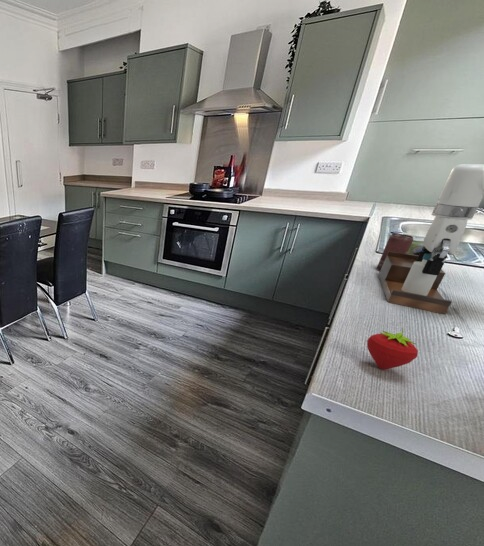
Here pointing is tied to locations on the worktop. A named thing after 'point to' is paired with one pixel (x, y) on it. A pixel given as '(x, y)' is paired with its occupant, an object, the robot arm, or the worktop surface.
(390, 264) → the rack
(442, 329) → the worktop surface
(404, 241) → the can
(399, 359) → the strawberry
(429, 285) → the bottle
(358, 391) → the worktop surface
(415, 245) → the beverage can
